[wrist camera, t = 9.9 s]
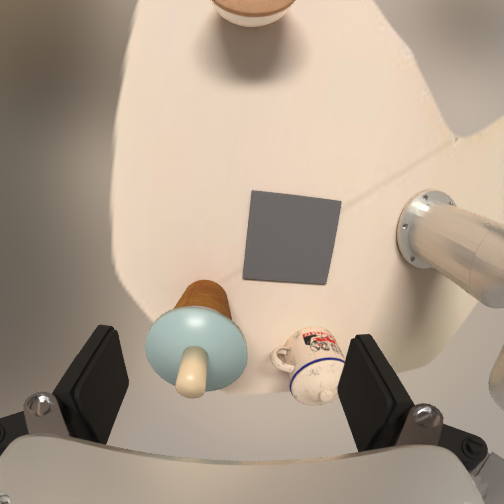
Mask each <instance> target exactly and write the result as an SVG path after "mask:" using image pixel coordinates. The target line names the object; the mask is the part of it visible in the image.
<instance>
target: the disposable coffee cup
mask: <svg viewBox="0 0 504 504" xmlns="http://www.w3.org/2000/svg"><path fill="white" fill-rule="evenodd" d="M186 306H197V307H204V308H208V309H212V310H215V311H217V312H219V313H221V314H223V315H225V316H226V317H228V318H229V319H231V320H232V318H231V314H230V309H229V305H228V300H227V295H226V293H225V291H224V289H223V288H222V287H221V286H220V285H219V284H217V283H215V282H213V281H209V280H199V281H196V282H194V283H192V284H191V285H189V286H188V288H187V289H186V291H185V292H184V294H183V295H182V297H181V298H180V300H179V301H178V303H177V304H176V306H175V307H174V309H175V308H180V307H186Z"/></svg>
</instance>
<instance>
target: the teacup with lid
mask: <svg viewBox="0 0 504 504" xmlns="http://www.w3.org/2000/svg"><path fill="white" fill-rule="evenodd" d="M277 354H284V357H285V362H286V363H284V362H283V361H281V360H280V359H279V358H278V356H277ZM271 362H272V364H273V365H274V366H275V367H277V368H278V369H280V370H282V371H285V372H288V375H289V379H290V391H291V393H292V395H293V396H294V398H295V399H296V400H298V401H299V402H301V403H303V404H307V405H322V404H326V403H329V402H332V401H334V400H336V399H337V398H339V396H338V392H337V387H338V383H339V380H340V377H341V373H342V370H343V367H344V363H345V359H344V357H343V355H342V352H341V350H340V348H339V346H338V344H337V342H336V340H335V338H334V336H333V335H332V334H331V333H330V332H329V331H328V330H326V329H323V328H319V327H310V328H305V329H302V330H300V331H298V332H296V333H295V334H294V335H292V336H291V337H290V338H289V340H288V341H287V343H286V345H285V347H277V348H275V349H274V350H273V352H272V353H271Z"/></svg>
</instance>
